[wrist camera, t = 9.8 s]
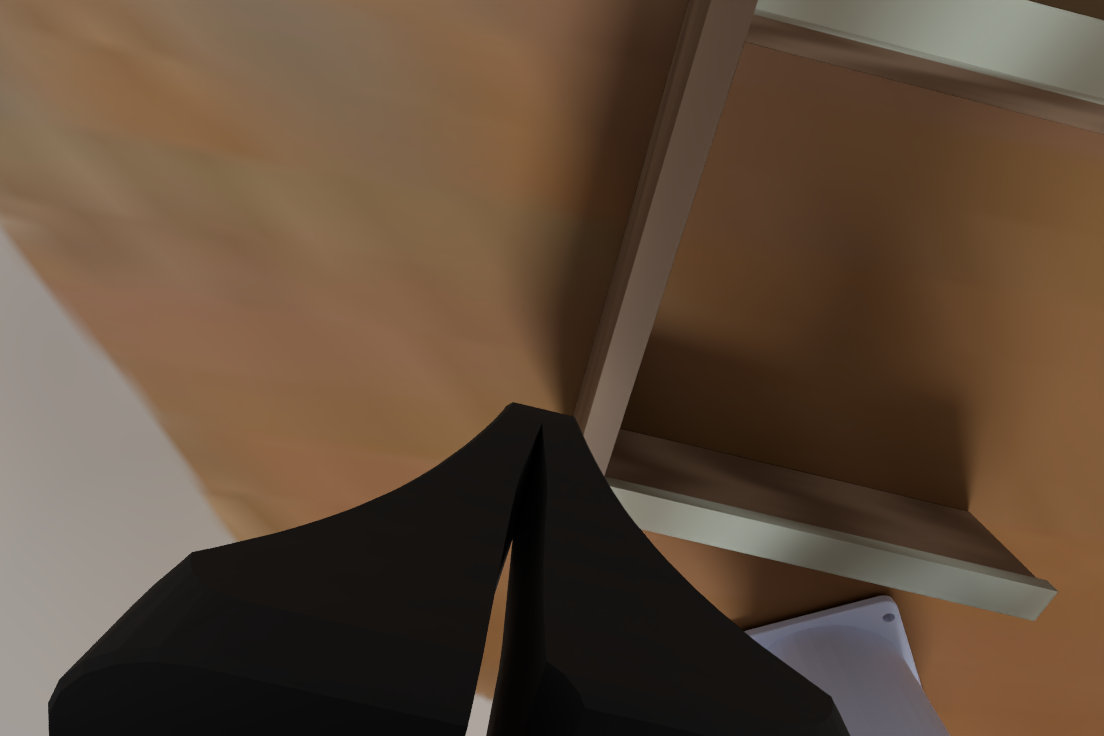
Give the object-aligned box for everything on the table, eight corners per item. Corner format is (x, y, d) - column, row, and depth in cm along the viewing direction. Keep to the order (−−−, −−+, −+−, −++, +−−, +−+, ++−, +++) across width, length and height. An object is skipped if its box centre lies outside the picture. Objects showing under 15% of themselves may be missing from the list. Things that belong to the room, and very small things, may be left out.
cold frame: (565, 441, 22) (558, 519, 18) (694, -21, 16) (736, -87, 11) (954, 534, 23) (1045, 633, 18) (1234, 119, 16) (1485, 110, 12)
